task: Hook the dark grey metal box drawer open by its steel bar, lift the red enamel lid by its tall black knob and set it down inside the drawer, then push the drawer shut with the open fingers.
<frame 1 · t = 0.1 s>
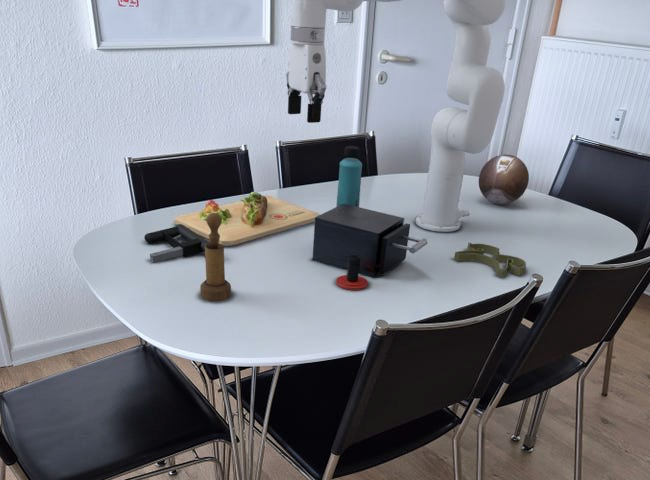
hand: (303, 117, 151), 31 cm above the table, tool pointing down, fingers open, 9 cm apart
cutting board: (248, 223, 180), on the table
drawer: (378, 244, 155), point 5 cm above the table, slide at 0.8 cm
beverage bottle: (346, 218, 187), on the table
lid: (351, 283, 148), on the table
mortar and pestle: (215, 295, 140), on the table
cookie cutter: (490, 263, 163), on the table
toy gun: (176, 251, 160), on the table
dark grey metal box: (355, 260, 160), on the table
wooden sphere: (498, 203, 207), on the table
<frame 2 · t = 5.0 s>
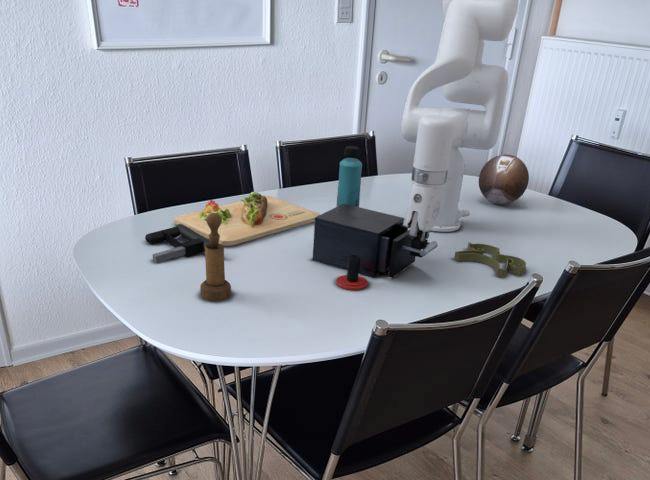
hand: (417, 255, 151), 5 cm above the table, tool pointing down, fingers closed
drawer: (388, 247, 154), point 5 cm above the table, slide at 3.4 cm, touching gripper
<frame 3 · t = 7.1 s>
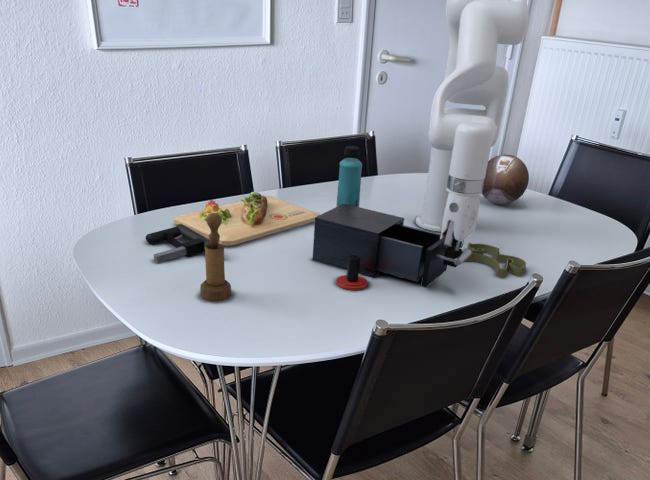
hand: (450, 264, 147), 5 cm above the table, tool pointing down, fingers closed
drawer: (420, 255, 150), point 5 cm above the table, slide at 11.6 cm
everything else where it was.
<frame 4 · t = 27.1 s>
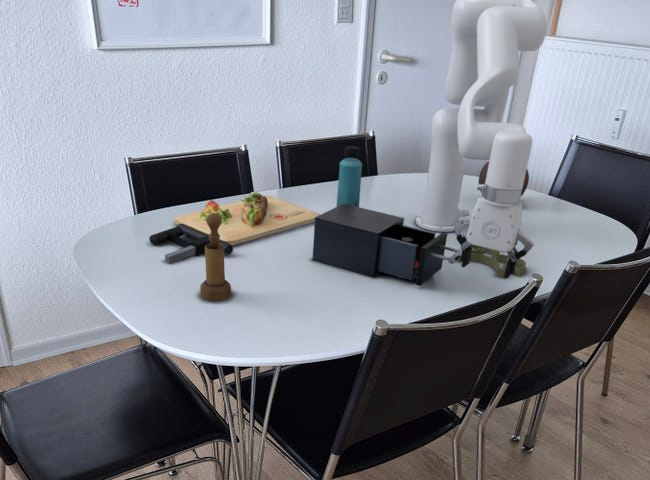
hand: (485, 270, 143), 6 cm above the table, tool pointing down, fingers open, 9 cm apart
drawer: (415, 254, 151), point 5 cm above the table, slide at 10.3 cm, touching gripper, lid
lid: (403, 264, 154), point 2 cm above the table, touching drawer
toy gun: (185, 251, 160), on the table
everything else where it was.
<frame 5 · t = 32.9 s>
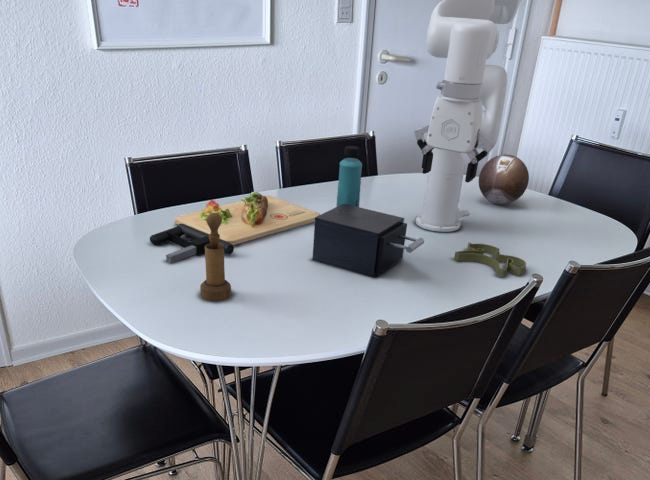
hand: (447, 176, 139), 24 cm above the table, tool pointing down, fingers open, 9 cm apart
drawer: (375, 243, 155), point 5 cm above the table, slide at 0.0 cm, touching dark grey metal box, lid
lid: (365, 254, 158), point 2 cm above the table, touching drawer
everything else where it was.
at the end: drawer pulled out 11.6 cm at the most during the clip, back to where it started at the end; lid inside the target area in the dark grey metal box (0.6 cm from its centre), point 2.1 cm above the dark grey metal box's base; drawer slide at 0.0 cm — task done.
